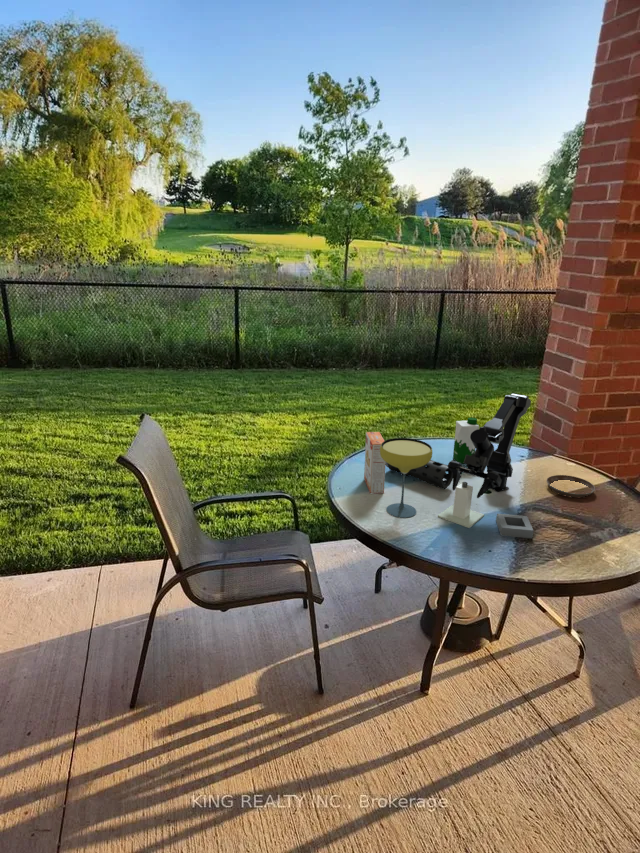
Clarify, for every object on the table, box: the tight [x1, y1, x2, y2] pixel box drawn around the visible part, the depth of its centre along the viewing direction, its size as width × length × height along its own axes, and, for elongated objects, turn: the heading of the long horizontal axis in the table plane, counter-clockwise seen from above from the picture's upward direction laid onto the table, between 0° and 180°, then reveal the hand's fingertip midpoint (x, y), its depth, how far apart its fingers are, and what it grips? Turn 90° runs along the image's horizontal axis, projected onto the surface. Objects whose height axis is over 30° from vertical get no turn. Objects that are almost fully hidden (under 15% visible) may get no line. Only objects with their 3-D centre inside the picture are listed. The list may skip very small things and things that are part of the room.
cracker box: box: [363, 431, 386, 494], centre depth 205 cm, size 14×6×21 cm, turn 5°
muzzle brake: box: [385, 459, 453, 490], centre depth 214 cm, size 10×28×10 cm, turn 47°
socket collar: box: [495, 512, 534, 539], centre depth 177 cm, size 10×10×3 cm
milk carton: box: [452, 416, 480, 465], centre depth 233 cm, size 9×9×20 cm
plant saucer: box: [546, 474, 596, 498], centre depth 209 cm, size 18×18×3 cm
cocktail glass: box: [380, 437, 433, 519], centre depth 185 cm, size 18×18×25 cm
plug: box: [453, 481, 474, 519], centre depth 184 cm, size 4×4×12 cm
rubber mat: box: [437, 503, 485, 529], centre depth 186 cm, size 12×12×1 cm
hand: (465, 493), depth 184 cm, fingers open, 9 cm apart
